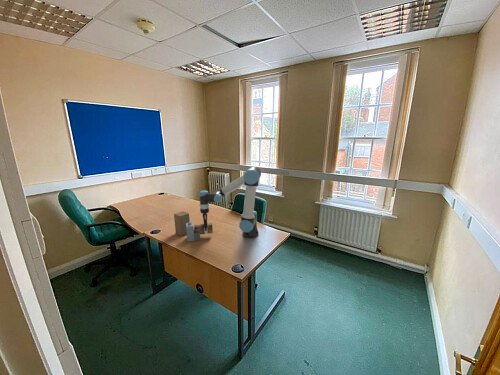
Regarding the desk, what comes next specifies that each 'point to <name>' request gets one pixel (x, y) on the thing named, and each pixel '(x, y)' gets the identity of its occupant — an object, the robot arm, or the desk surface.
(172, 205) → the desk surface
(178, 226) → the wooden block
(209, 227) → the rail
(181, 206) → the desk surface
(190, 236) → the gray block with ears
